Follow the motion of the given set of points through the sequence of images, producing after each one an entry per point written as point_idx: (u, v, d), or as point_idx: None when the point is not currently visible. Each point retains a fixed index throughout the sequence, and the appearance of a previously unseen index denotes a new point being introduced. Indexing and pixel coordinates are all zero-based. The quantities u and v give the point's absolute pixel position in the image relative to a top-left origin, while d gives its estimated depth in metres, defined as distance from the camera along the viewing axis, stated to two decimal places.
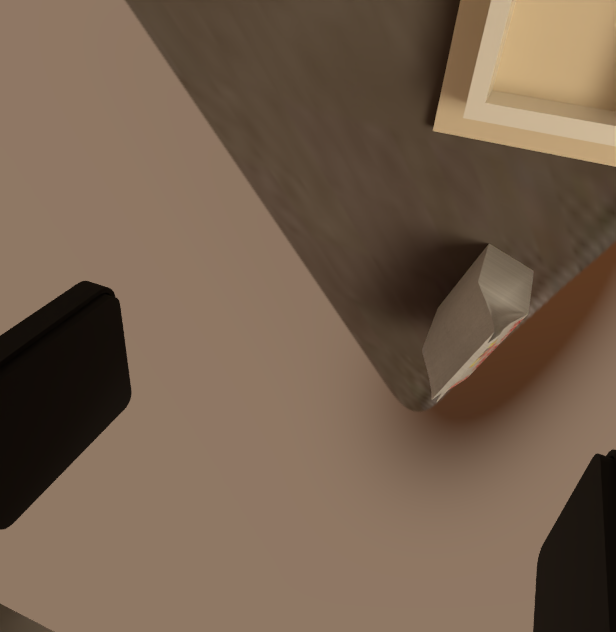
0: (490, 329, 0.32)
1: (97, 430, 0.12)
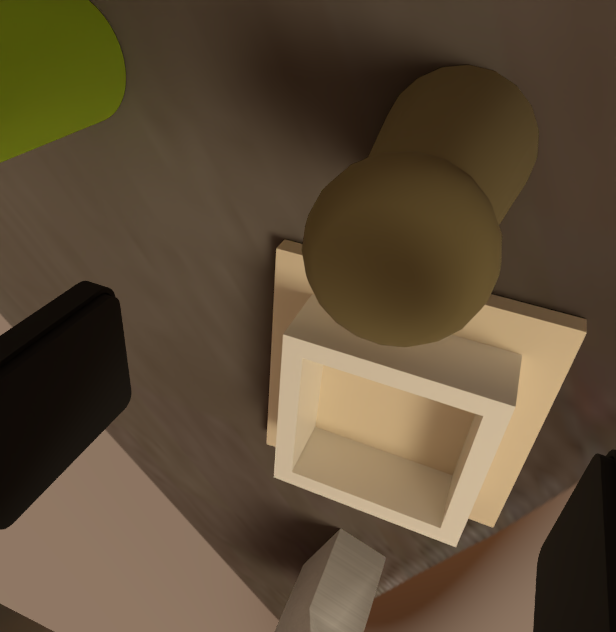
0: None
1: (97, 430, 0.12)
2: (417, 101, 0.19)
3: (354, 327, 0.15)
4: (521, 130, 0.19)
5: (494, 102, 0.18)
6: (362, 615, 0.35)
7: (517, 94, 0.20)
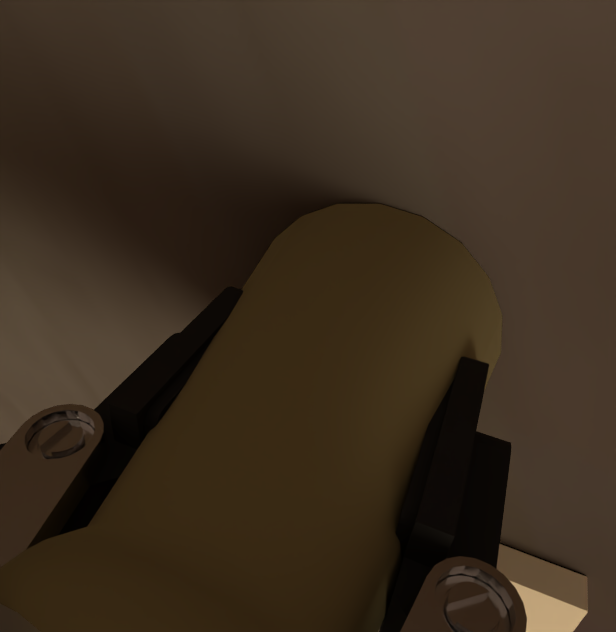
0: None
1: None
2: (270, 290, 0.10)
3: None
4: (464, 342, 0.10)
5: (411, 296, 0.10)
6: None
7: (461, 263, 0.11)
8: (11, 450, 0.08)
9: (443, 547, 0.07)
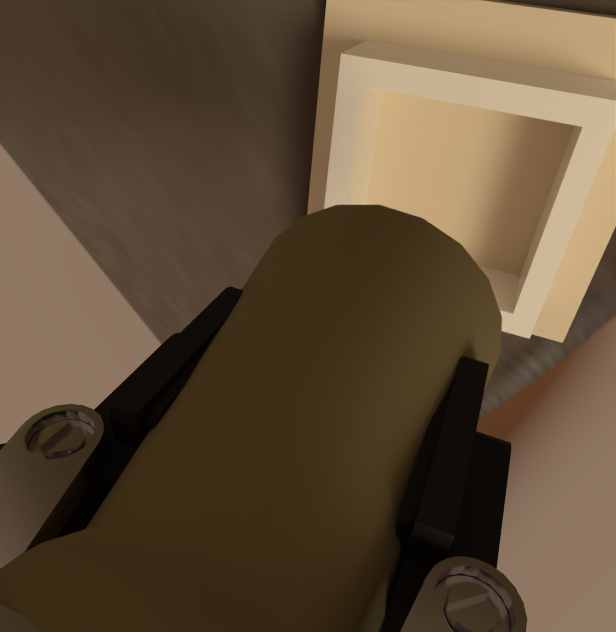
0: None
1: None
2: (269, 291, 0.10)
3: None
4: (464, 343, 0.10)
5: (411, 297, 0.10)
6: None
7: (460, 264, 0.11)
8: (11, 450, 0.08)
9: (443, 548, 0.07)
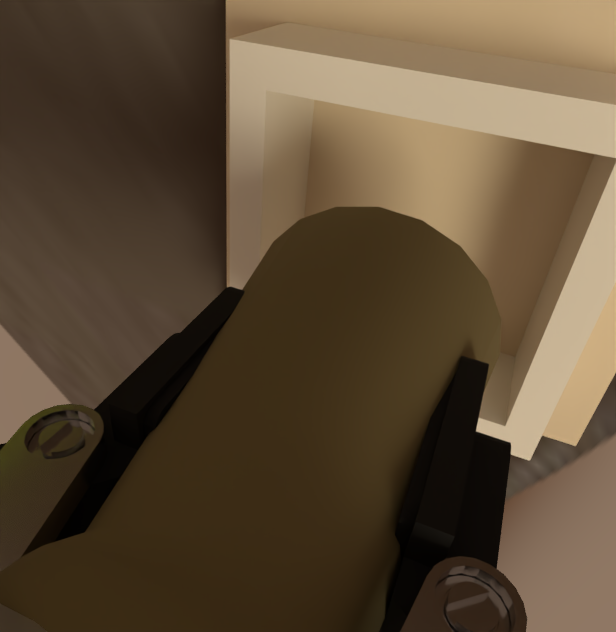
0: None
1: None
2: (269, 294, 0.10)
3: None
4: (463, 345, 0.10)
5: (411, 300, 0.10)
6: None
7: (460, 266, 0.11)
8: (11, 450, 0.08)
9: (443, 547, 0.07)
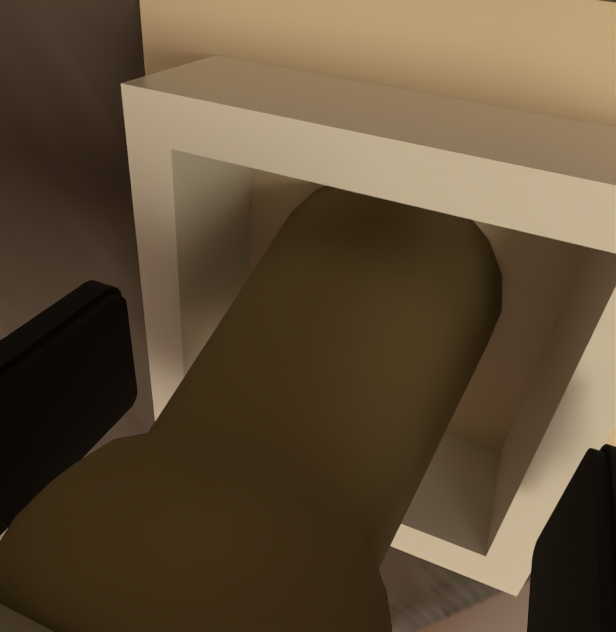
0: None
1: (103, 429, 0.12)
2: (291, 249, 0.11)
3: None
4: (467, 293, 0.11)
5: (419, 251, 0.11)
6: None
7: (463, 226, 0.12)
8: None
9: None
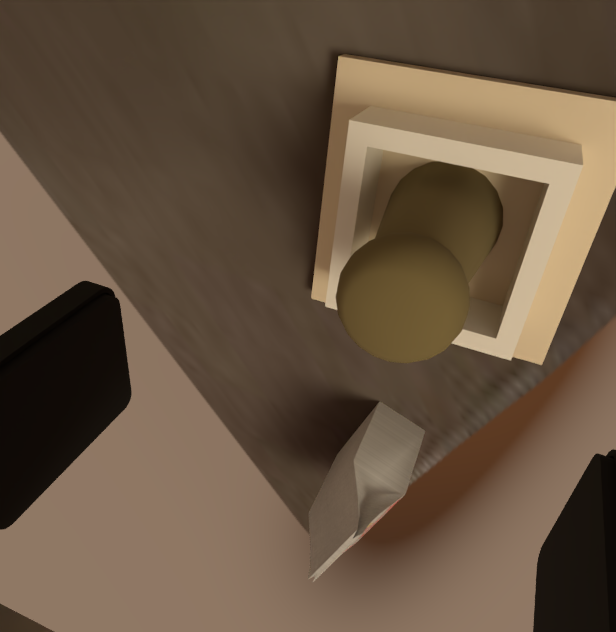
0: (355, 523, 0.31)
1: (97, 430, 0.12)
2: (413, 189, 0.26)
3: (371, 349, 0.22)
4: (488, 209, 0.26)
5: (468, 190, 0.26)
6: (405, 473, 0.35)
7: (485, 183, 0.27)
8: None
9: None
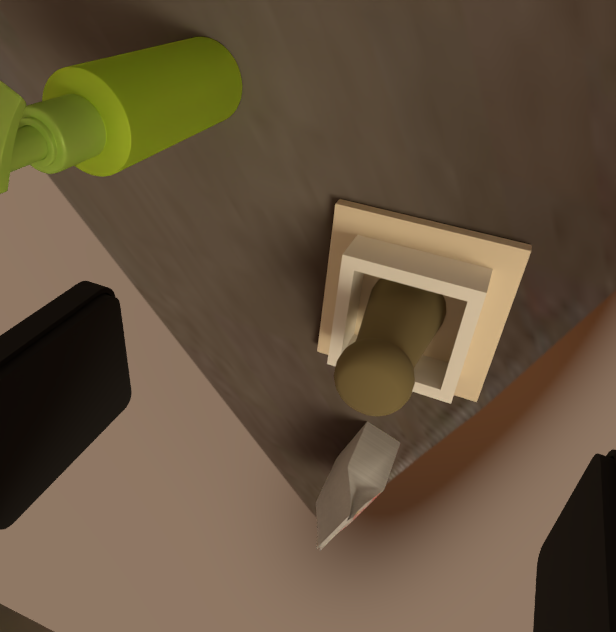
0: (348, 510, 0.45)
1: (97, 430, 0.12)
2: (384, 296, 0.40)
3: (355, 408, 0.36)
4: (433, 308, 0.40)
5: (420, 297, 0.40)
6: (384, 475, 0.49)
7: None
8: None
9: None
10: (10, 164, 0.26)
